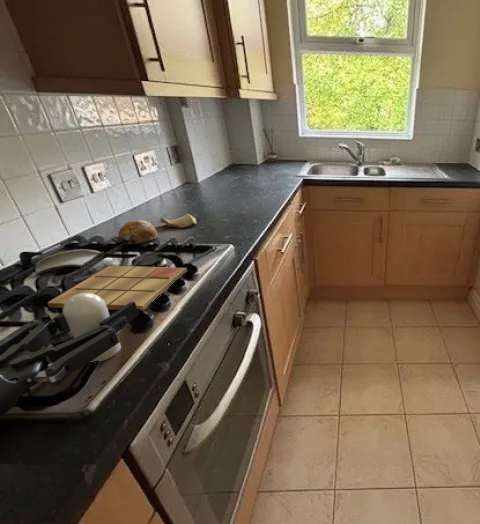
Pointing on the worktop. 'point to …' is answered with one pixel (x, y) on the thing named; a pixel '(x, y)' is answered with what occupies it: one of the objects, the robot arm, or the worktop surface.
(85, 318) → the white domed cylinder
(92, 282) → the game board
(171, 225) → the pottery shard
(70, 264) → the ceramic fragment
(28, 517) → the worktop surface
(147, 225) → the bread roll
